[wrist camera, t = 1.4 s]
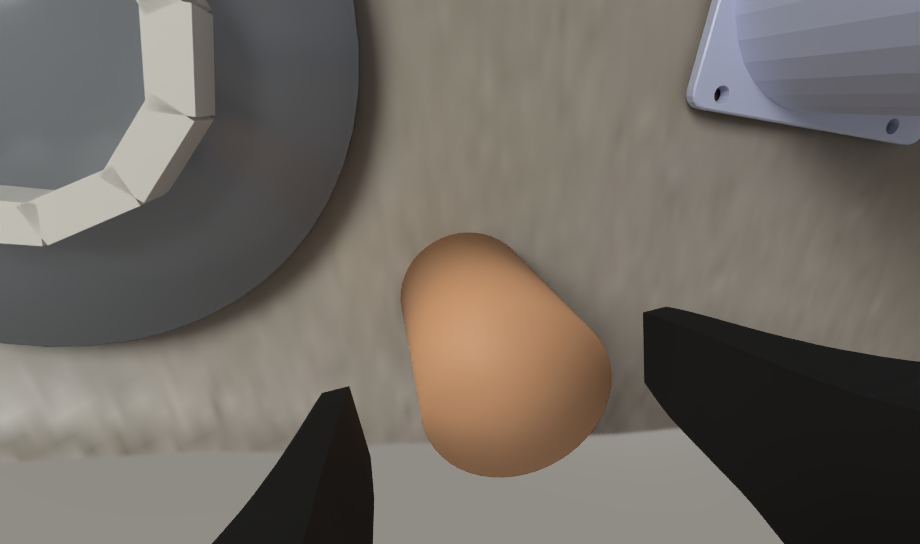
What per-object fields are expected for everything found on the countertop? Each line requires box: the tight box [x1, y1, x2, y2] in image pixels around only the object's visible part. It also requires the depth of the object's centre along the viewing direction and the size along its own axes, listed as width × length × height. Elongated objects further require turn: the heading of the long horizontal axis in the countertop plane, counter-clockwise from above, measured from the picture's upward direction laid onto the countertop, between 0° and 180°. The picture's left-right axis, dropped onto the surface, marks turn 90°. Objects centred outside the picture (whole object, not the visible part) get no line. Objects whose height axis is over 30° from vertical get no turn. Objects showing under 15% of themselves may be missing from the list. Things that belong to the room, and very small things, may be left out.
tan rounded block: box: [401, 233, 611, 477], centre depth 13 cm, size 4×4×6 cm
